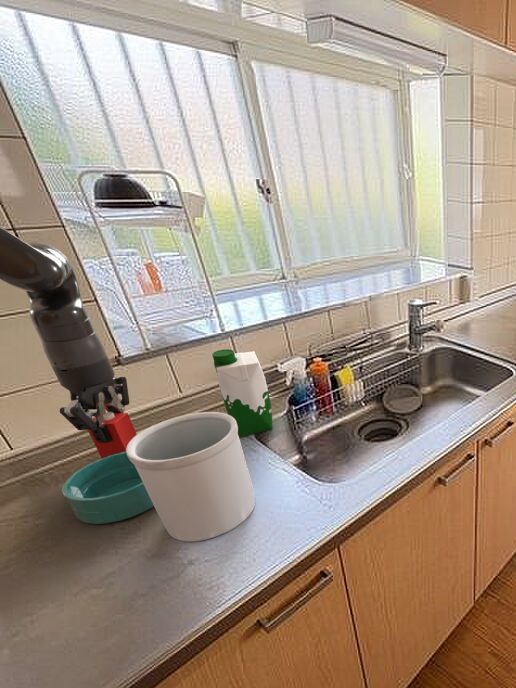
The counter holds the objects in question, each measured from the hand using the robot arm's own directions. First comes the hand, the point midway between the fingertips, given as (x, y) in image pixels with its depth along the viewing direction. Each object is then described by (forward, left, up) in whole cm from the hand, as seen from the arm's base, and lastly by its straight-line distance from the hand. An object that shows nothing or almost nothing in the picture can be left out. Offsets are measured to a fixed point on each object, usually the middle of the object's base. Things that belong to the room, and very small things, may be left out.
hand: (114, 434), depth 85 cm
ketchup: (0, 0, -7) cm, 7 cm away
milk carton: (+20, +13, -7) cm, 25 cm away
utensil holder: (+24, -16, -7) cm, 30 cm away
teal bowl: (+7, -11, -7) cm, 15 cm away
